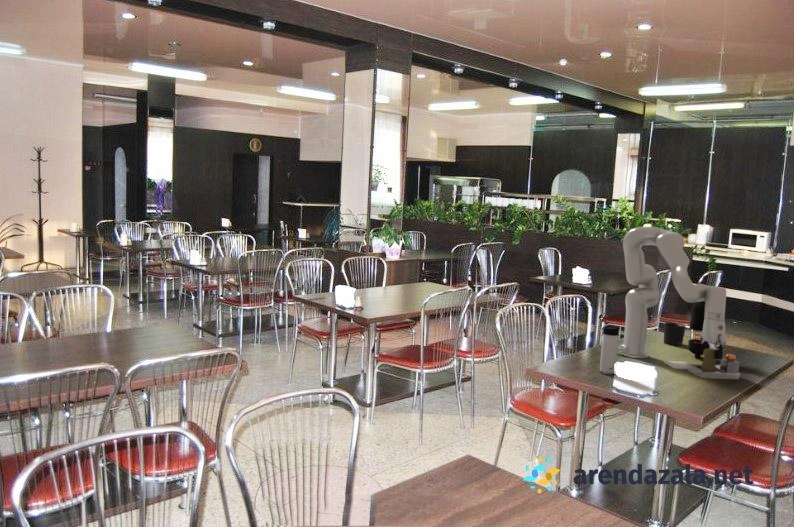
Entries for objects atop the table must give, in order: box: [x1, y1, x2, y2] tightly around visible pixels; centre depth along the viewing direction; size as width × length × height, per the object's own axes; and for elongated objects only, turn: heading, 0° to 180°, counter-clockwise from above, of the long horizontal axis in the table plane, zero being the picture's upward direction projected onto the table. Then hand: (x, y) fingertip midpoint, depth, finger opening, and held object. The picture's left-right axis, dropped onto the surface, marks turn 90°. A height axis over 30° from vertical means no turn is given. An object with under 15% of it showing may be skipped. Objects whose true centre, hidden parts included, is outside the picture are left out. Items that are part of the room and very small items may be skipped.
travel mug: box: [599, 325, 621, 375], centre depth 251 cm, size 6×7×20 cm
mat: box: [663, 360, 690, 370], centre depth 268 cm, size 10×10×1 cm
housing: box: [686, 358, 741, 380], centre depth 256 cm, size 16×12×7 cm
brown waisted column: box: [701, 349, 716, 372], centre depth 256 cm, size 6×6×11 cm
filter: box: [688, 301, 705, 359], centre depth 283 cm, size 14×9×30 cm
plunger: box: [725, 353, 737, 361], centre depth 253 cm, size 4×4×6 cm
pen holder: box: [663, 322, 686, 347], centre depth 308 cm, size 9×9×10 cm
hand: (711, 356), depth 255 cm, fingers open, 9 cm apart
